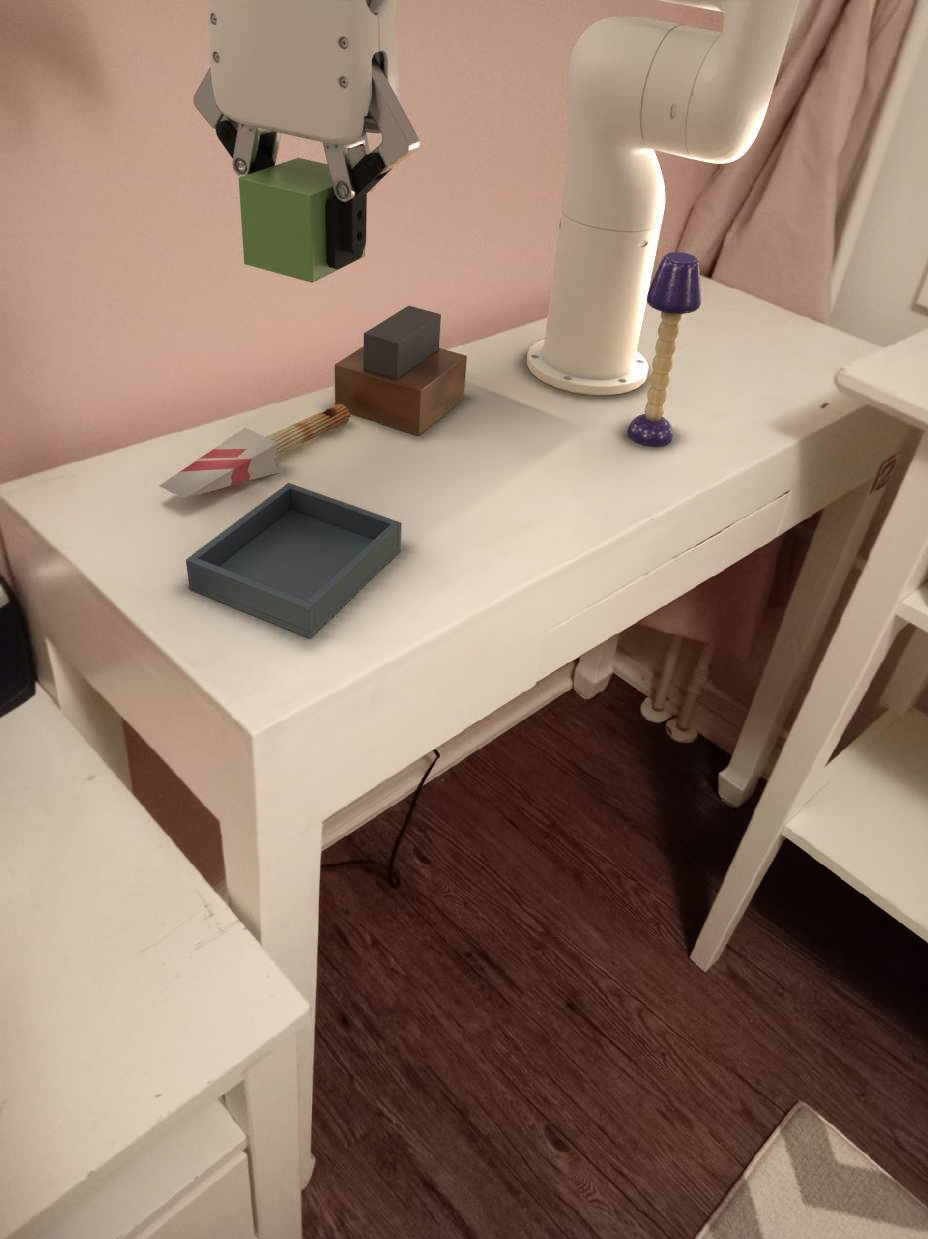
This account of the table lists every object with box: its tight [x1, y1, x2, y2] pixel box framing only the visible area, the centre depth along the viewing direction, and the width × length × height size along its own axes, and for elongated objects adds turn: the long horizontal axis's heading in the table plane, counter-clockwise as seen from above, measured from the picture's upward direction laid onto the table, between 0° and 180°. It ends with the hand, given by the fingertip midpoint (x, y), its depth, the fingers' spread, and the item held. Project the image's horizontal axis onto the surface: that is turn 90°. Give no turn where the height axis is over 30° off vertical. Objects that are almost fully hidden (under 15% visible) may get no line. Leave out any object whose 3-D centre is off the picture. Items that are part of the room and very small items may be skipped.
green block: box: [238, 157, 367, 284], centre depth 59 cm, size 6×5×5 cm
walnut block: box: [334, 345, 468, 437], centre depth 92 cm, size 9×9×4 cm
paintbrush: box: [158, 404, 351, 499], centre depth 82 cm, size 4×3×20 cm
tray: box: [185, 482, 402, 639], centre depth 71 cm, size 12×10×3 cm
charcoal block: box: [363, 305, 442, 380], centre depth 89 cm, size 8×4×4 cm, turn 153°
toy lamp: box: [626, 251, 702, 447], centre depth 87 cm, size 5×5×17 cm
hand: (305, 249), depth 60 cm, fingers closed on green block, 5 cm apart
